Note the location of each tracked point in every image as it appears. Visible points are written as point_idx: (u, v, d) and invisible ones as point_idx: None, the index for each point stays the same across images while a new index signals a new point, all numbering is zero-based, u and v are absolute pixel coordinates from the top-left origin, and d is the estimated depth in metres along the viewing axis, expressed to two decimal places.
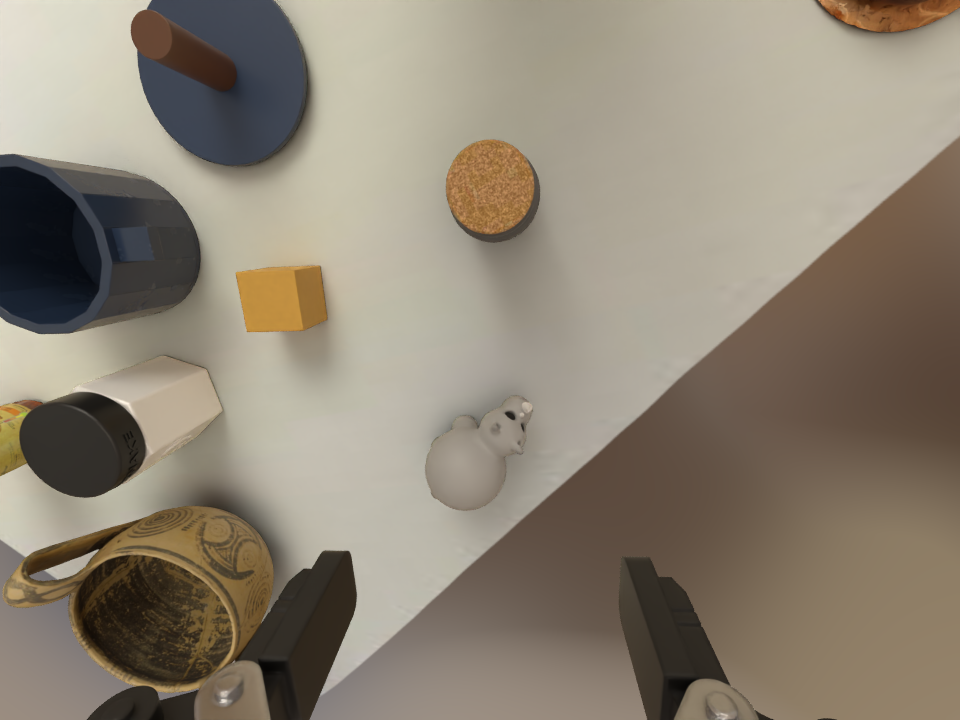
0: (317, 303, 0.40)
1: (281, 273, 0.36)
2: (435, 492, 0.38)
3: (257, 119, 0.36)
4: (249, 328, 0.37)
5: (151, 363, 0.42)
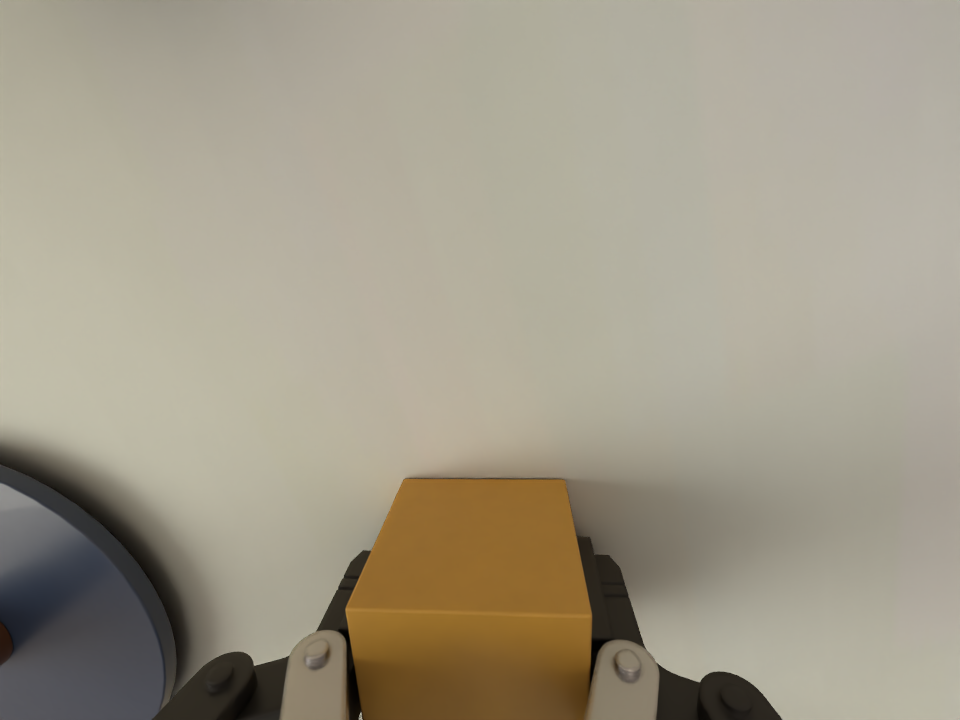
0: (505, 513, 0.12)
1: (358, 649, 0.09)
2: None
3: (46, 578, 0.15)
4: None
5: None
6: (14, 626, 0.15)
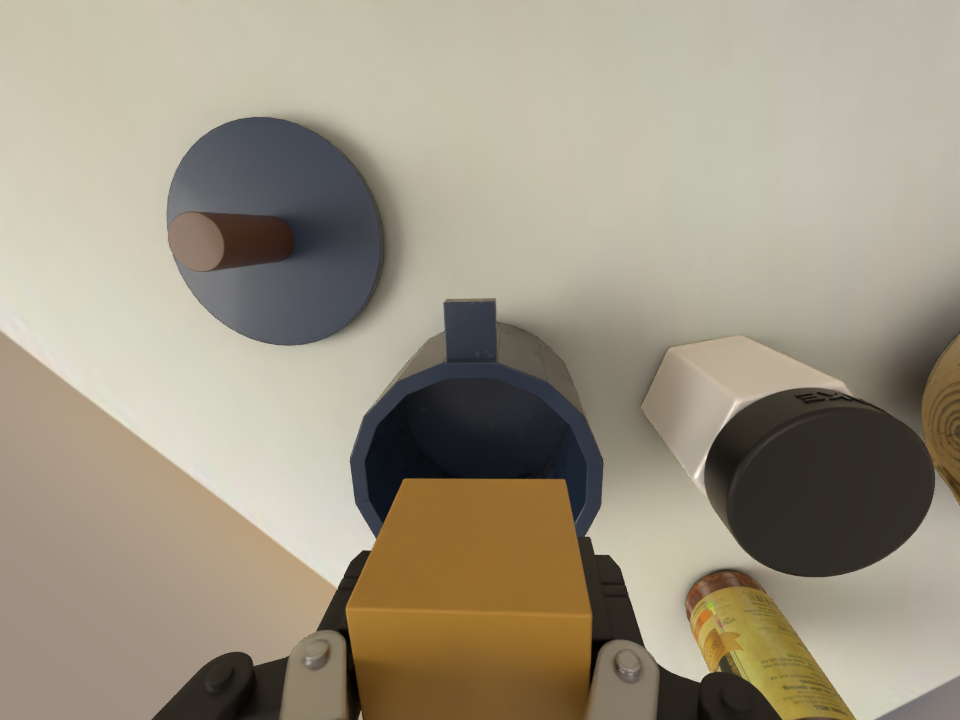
0: (505, 513, 0.12)
1: (358, 649, 0.09)
2: None
3: (322, 195, 0.27)
4: None
5: (654, 411, 0.28)
6: (297, 231, 0.27)
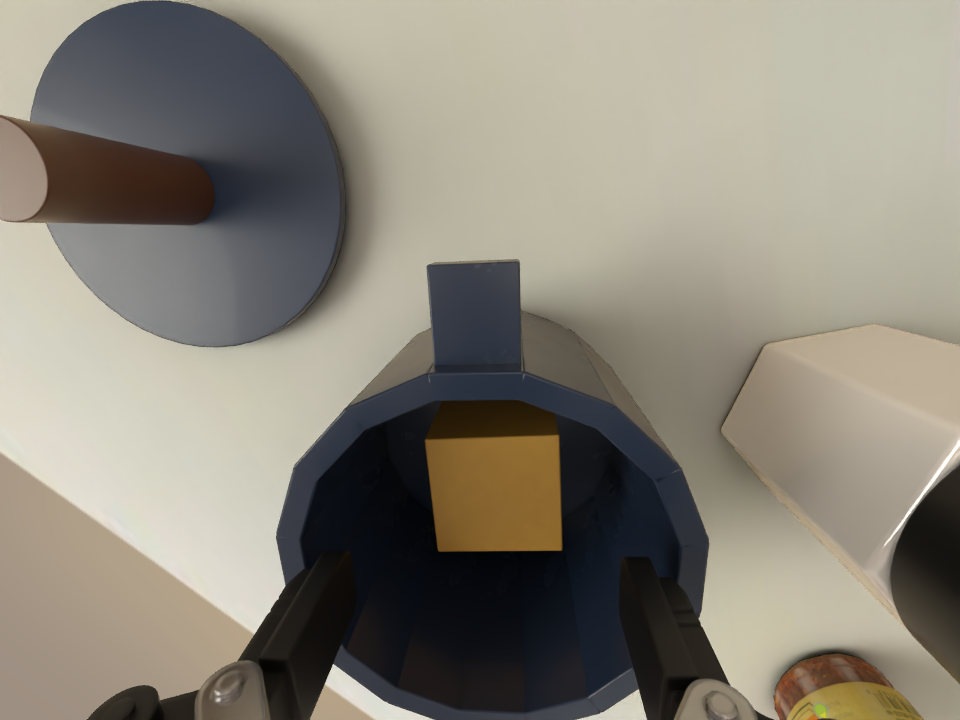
0: (511, 403, 0.19)
1: (432, 464, 0.17)
2: None
3: (251, 121, 0.18)
4: (554, 544, 0.17)
5: (749, 439, 0.19)
6: (218, 178, 0.19)
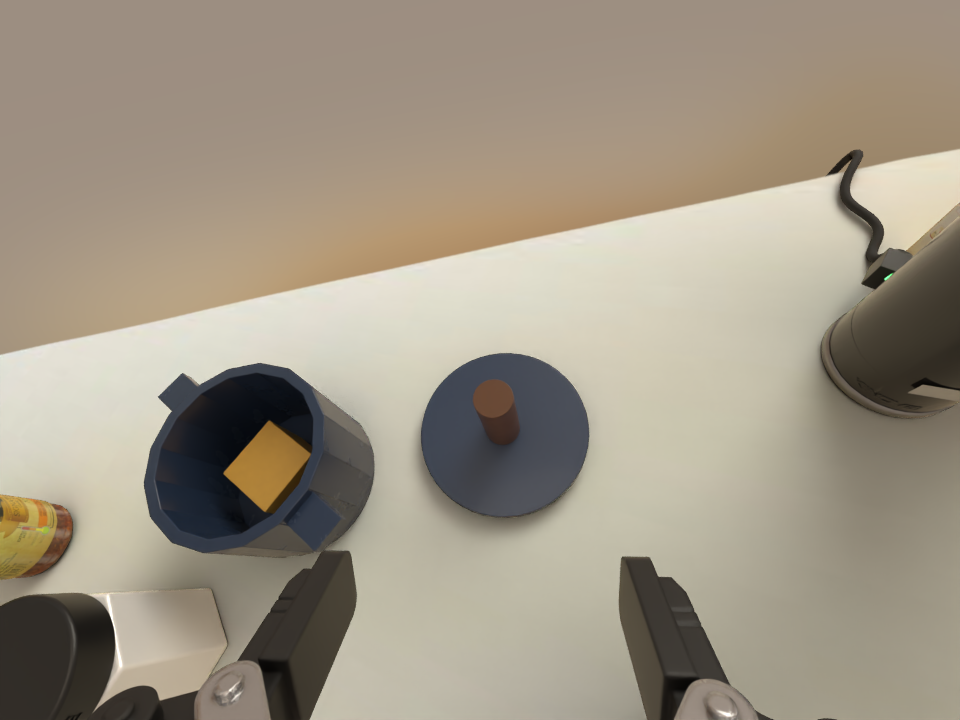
0: None
1: (300, 448, 0.33)
2: None
3: (501, 482, 0.34)
4: (227, 472, 0.33)
5: (193, 597, 0.33)
6: (494, 447, 0.36)
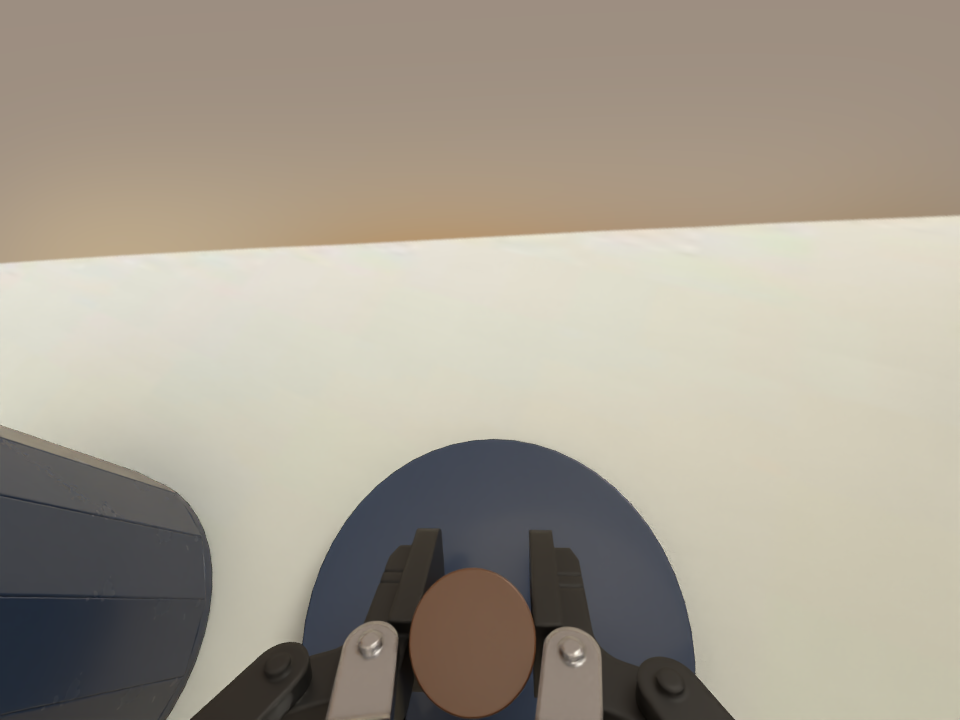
0: None
1: None
2: None
3: None
4: None
5: None
6: None
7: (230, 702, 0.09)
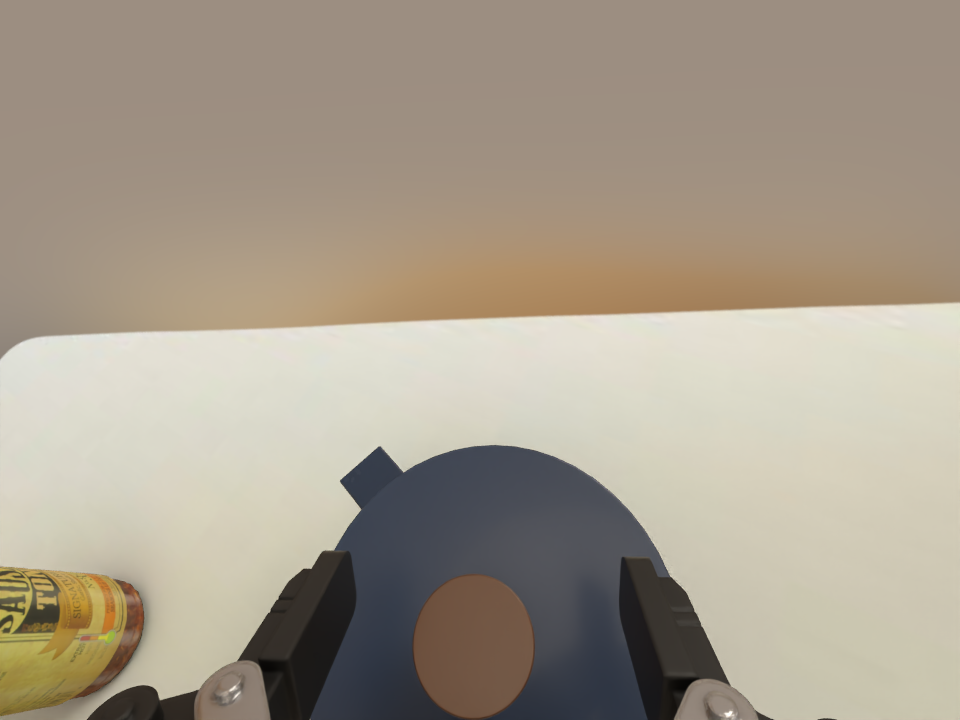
0: None
1: None
2: None
3: None
4: None
5: None
6: None
7: None
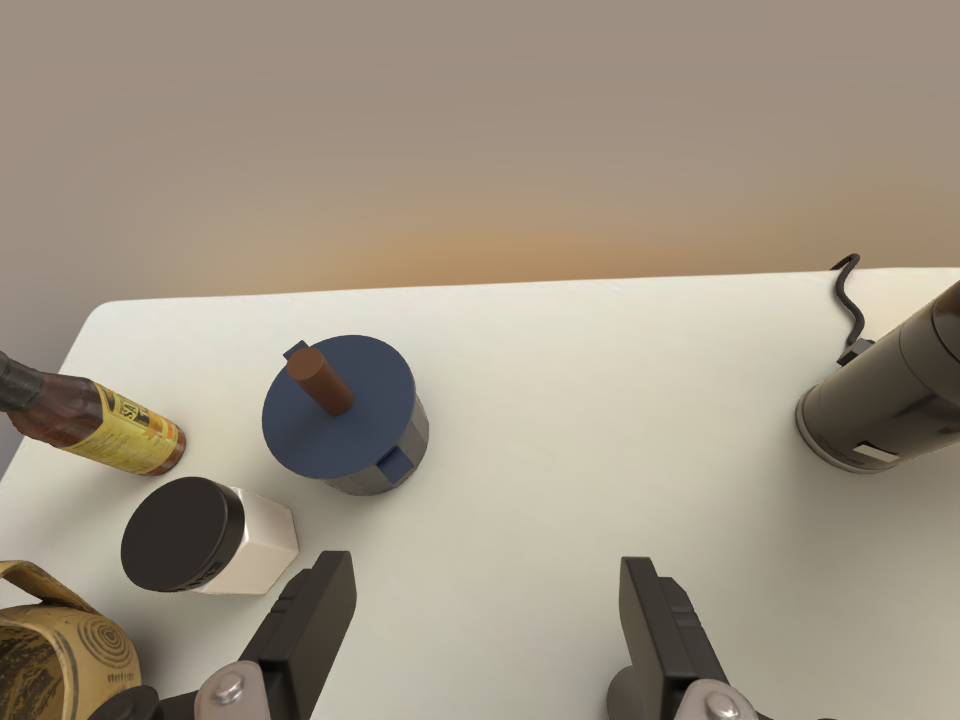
0: None
1: None
2: None
3: (320, 447, 0.37)
4: None
5: (281, 510, 0.43)
6: (325, 416, 0.39)
7: None
